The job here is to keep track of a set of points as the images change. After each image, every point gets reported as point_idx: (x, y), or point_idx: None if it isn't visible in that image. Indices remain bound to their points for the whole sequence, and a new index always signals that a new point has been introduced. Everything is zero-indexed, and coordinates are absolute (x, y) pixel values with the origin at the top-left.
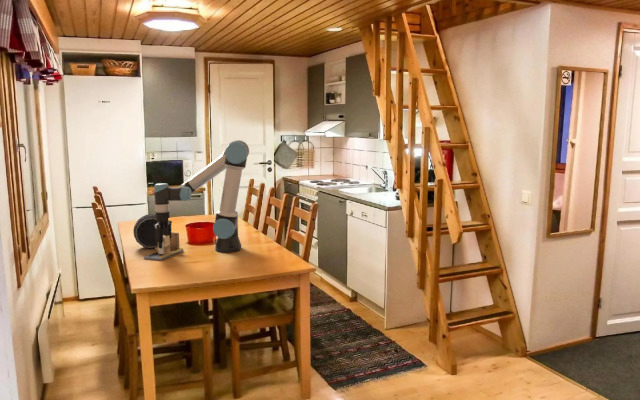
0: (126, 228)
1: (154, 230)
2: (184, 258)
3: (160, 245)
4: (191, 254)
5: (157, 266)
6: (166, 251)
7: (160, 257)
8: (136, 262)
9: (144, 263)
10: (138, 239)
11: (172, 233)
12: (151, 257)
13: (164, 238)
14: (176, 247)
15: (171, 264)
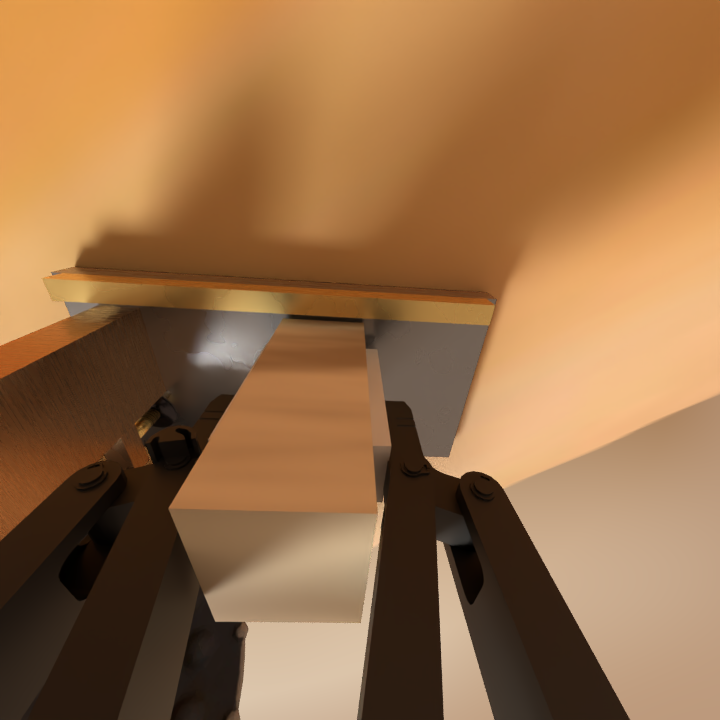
0: None
1: (31, 709)
2: (335, 32)
3: (416, 432)
4: (104, 45)
5: (709, 210)
6: (350, 337)
7: (487, 316)
8: (538, 443)
9: (571, 383)
10: (240, 646)
11: None
12: (460, 403)
13: (372, 496)
14: (118, 334)
15: (655, 61)
